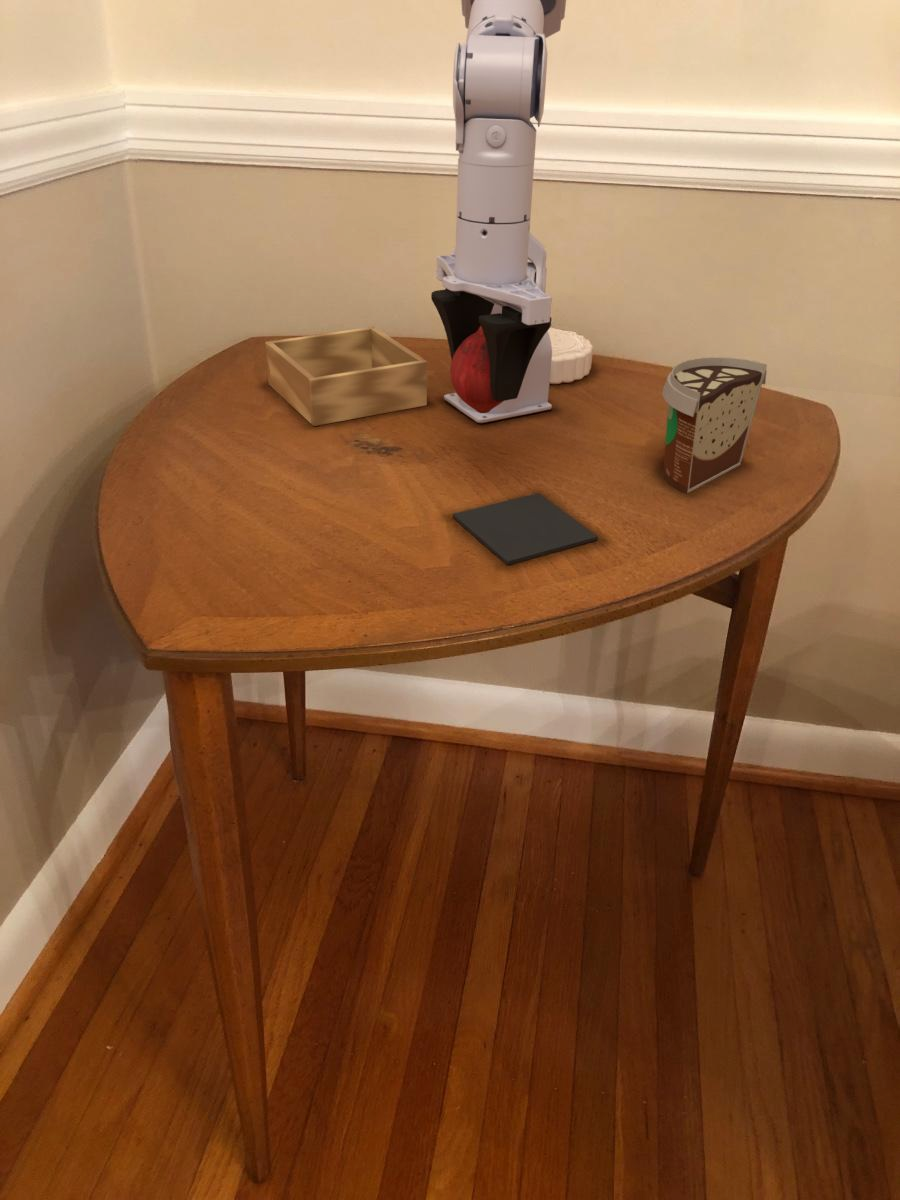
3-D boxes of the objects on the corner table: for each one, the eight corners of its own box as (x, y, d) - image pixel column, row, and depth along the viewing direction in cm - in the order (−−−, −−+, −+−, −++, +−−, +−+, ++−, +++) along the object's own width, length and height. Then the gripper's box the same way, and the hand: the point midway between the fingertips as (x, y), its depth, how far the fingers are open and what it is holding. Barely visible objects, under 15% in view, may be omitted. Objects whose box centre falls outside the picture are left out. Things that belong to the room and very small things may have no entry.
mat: (538, 496, 86) (538, 492, 86) (597, 540, 79) (598, 536, 79) (452, 517, 82) (452, 513, 82) (507, 565, 76) (507, 561, 75)
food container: (695, 441, 97) (713, 346, 92) (748, 460, 94) (769, 362, 88) (623, 476, 90) (638, 375, 84) (678, 498, 86) (696, 394, 81)
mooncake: (609, 367, 115) (613, 338, 113) (551, 393, 108) (554, 362, 106) (531, 345, 122) (533, 317, 120) (472, 367, 114) (473, 338, 112)
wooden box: (374, 367, 113) (373, 326, 111) (427, 405, 104) (427, 361, 101) (268, 384, 108) (264, 341, 105) (313, 426, 98) (310, 380, 95)
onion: (510, 429, 78) (517, 334, 74) (442, 422, 79) (445, 327, 75) (520, 404, 83) (527, 313, 79) (456, 397, 84) (459, 307, 80)
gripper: (404, 202, 76) (404, 366, 83) (498, 241, 66) (488, 424, 73) (479, 197, 79) (473, 355, 86) (580, 232, 68) (563, 409, 76)
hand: (485, 386), depth 80 cm, fingers closed on onion, 6 cm apart
